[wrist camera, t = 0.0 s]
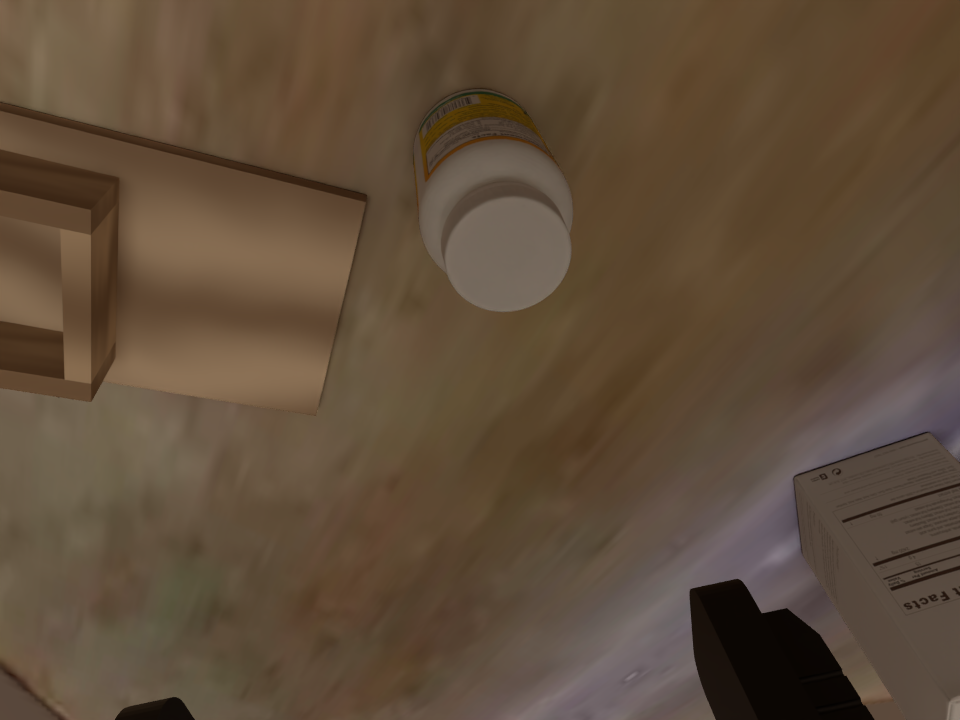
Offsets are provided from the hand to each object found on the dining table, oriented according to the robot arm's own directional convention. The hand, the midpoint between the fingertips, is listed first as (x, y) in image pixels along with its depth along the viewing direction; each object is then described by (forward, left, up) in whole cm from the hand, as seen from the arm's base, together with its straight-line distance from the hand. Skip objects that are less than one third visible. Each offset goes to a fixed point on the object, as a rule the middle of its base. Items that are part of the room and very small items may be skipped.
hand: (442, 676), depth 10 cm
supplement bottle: (-1, +3, -23) cm, 23 cm away
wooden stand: (+8, -11, -22) cm, 26 cm away
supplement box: (+14, +35, -23) cm, 44 cm away
